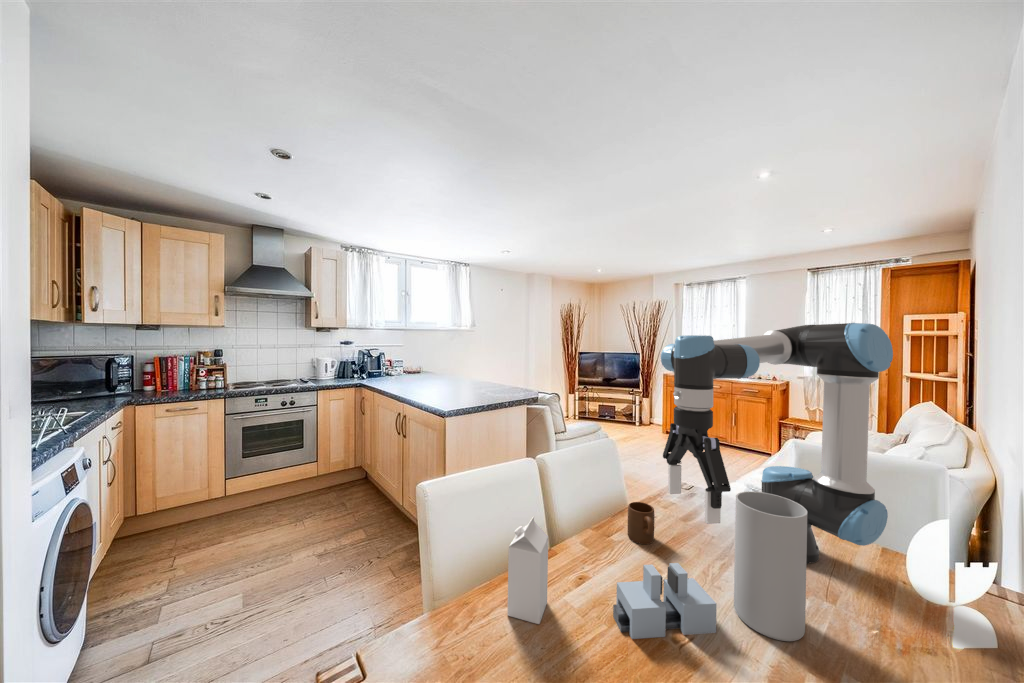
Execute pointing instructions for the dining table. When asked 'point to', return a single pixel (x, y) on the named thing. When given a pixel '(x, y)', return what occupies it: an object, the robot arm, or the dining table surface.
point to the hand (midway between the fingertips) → (692, 506)
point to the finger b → (690, 601)
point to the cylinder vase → (770, 564)
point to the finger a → (644, 604)
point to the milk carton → (528, 573)
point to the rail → (624, 621)
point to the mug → (641, 522)
